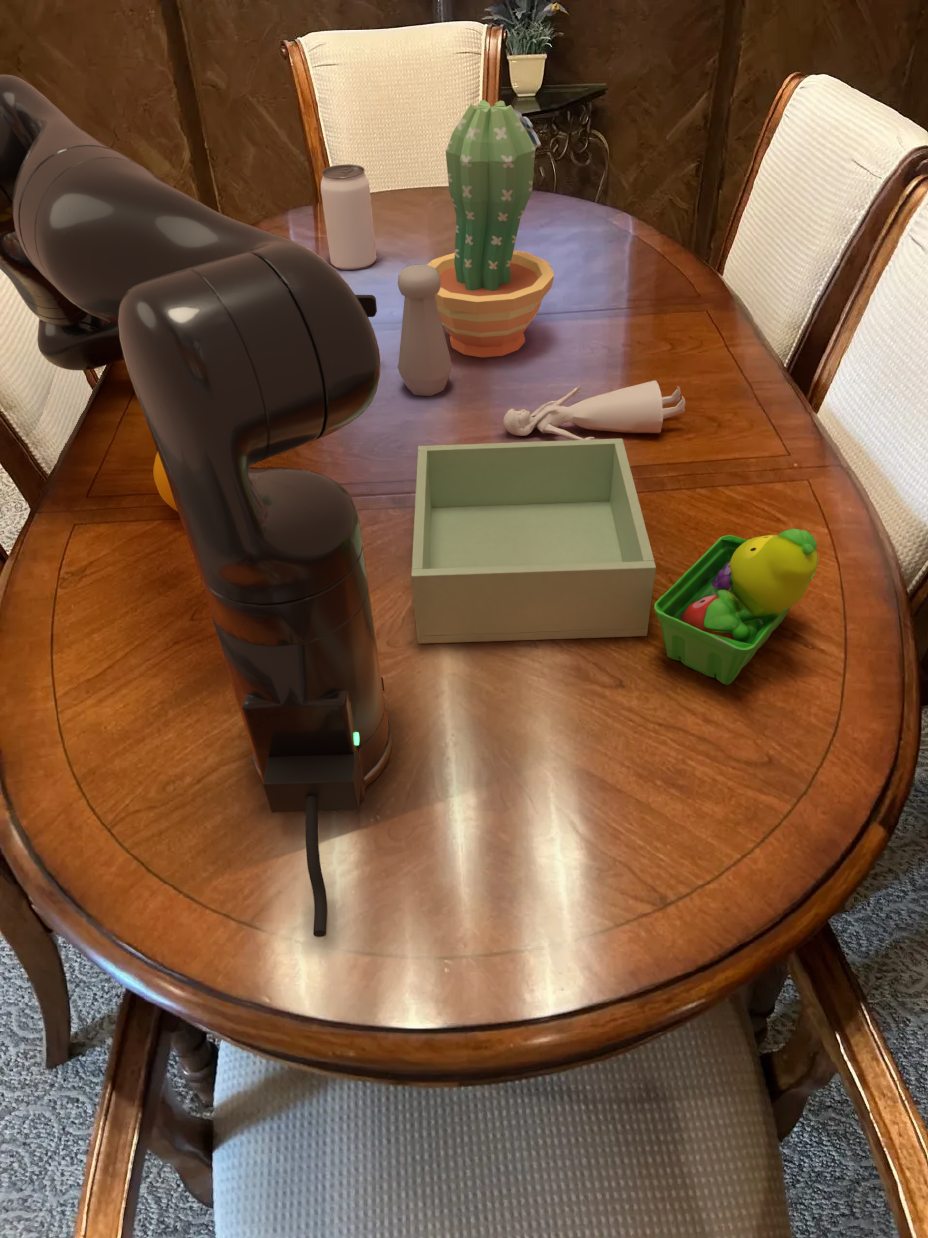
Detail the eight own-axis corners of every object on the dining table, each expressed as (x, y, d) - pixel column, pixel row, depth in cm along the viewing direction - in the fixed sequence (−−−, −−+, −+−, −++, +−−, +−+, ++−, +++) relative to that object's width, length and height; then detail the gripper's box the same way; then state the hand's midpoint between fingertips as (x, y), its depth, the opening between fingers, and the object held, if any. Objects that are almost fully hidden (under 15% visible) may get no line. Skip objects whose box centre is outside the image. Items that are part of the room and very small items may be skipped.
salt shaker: (446, 401, 98) (439, 282, 89) (394, 398, 99) (383, 279, 90) (457, 376, 102) (452, 259, 93) (407, 372, 103) (398, 257, 94)
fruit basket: (715, 580, 75) (738, 462, 67) (819, 625, 70) (857, 504, 63) (642, 659, 68) (658, 538, 61) (752, 713, 64) (784, 590, 56)
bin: (647, 636, 70) (656, 567, 65) (417, 643, 70) (411, 575, 66) (616, 503, 83) (622, 438, 78) (423, 510, 83) (418, 445, 79)
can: (323, 269, 127) (310, 176, 119) (341, 251, 131) (330, 161, 123) (366, 272, 125) (356, 179, 117) (383, 255, 130) (375, 164, 122)
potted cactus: (575, 353, 105) (587, 111, 88) (450, 381, 101) (437, 134, 84) (519, 303, 116) (521, 79, 99) (404, 326, 112) (385, 97, 95)
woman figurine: (697, 411, 85) (506, 433, 86) (694, 452, 88) (509, 473, 89) (671, 354, 94) (497, 375, 95) (669, 393, 97) (500, 413, 98)
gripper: (189, 315, 90) (350, 317, 88) (232, 260, 101) (377, 261, 99) (206, 385, 95) (359, 388, 93) (246, 325, 106) (383, 327, 104)
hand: (368, 322), depth 96 cm, fingers open, 8 cm apart
